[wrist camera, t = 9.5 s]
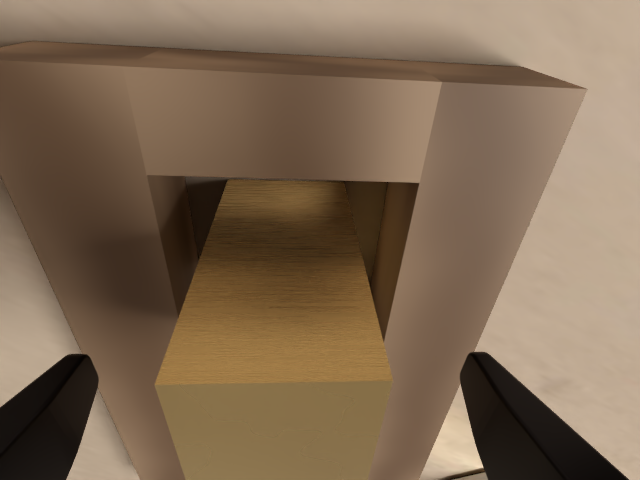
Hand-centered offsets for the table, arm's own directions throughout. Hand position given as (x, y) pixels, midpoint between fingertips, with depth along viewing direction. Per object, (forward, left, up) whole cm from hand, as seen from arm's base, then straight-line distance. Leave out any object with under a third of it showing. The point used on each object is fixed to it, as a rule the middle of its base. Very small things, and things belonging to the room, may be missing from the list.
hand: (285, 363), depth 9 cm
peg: (0, 0, -6) cm, 6 cm away
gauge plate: (0, -6, -6) cm, 9 cm away
